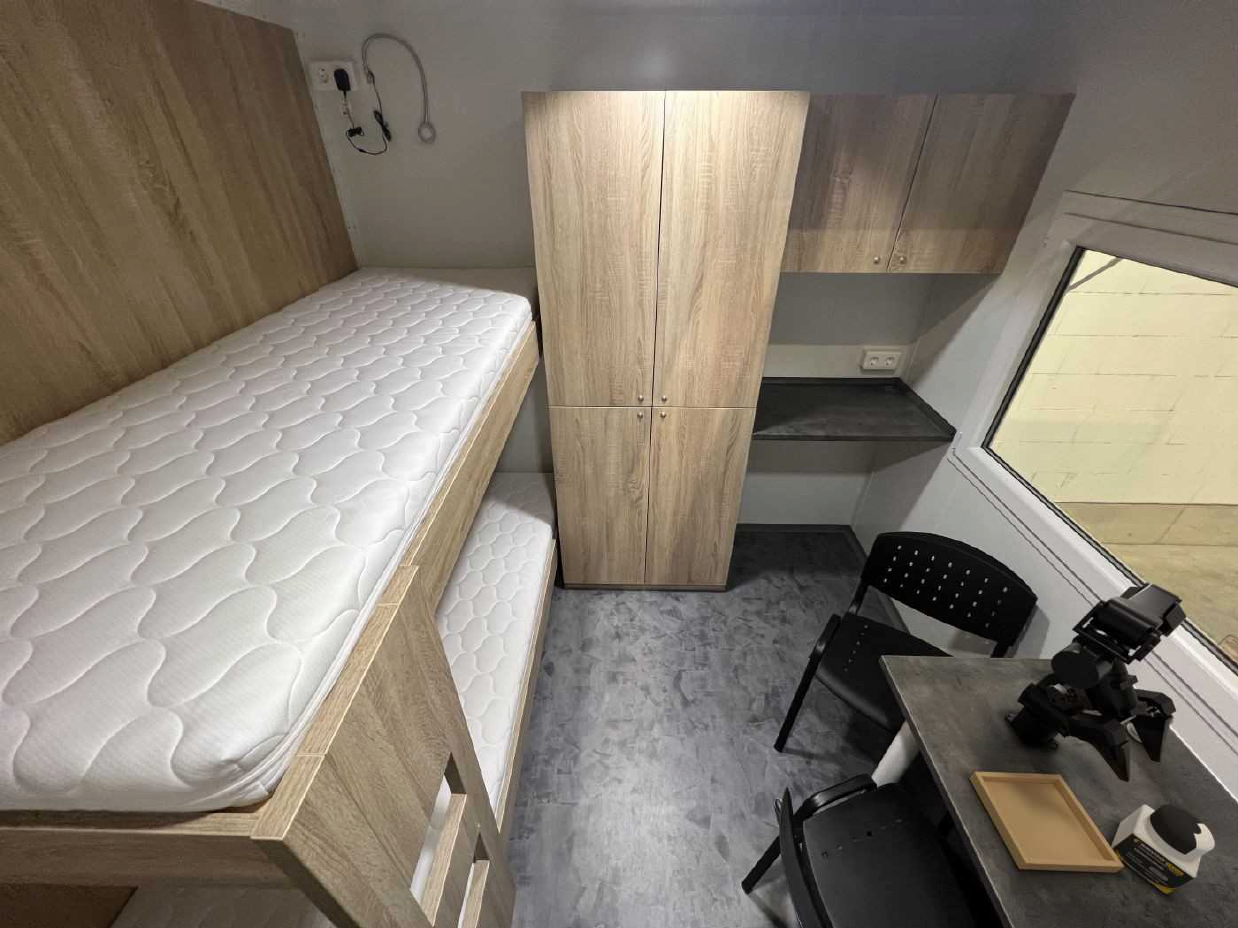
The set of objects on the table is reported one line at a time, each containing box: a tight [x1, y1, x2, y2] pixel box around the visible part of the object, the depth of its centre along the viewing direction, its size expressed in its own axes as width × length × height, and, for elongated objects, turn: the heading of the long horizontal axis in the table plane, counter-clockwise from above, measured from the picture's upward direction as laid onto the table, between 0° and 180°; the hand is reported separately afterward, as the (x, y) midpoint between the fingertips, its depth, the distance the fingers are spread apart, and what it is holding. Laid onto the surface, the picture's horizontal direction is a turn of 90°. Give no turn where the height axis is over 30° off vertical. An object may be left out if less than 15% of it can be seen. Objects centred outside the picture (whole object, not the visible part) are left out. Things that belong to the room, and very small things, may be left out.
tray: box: [969, 771, 1125, 874], centre depth 83 cm, size 16×14×2 cm
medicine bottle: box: [1110, 803, 1216, 895], centre depth 76 cm, size 7×7×12 cm
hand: (1140, 770), depth 78 cm, fingers open, 9 cm apart
